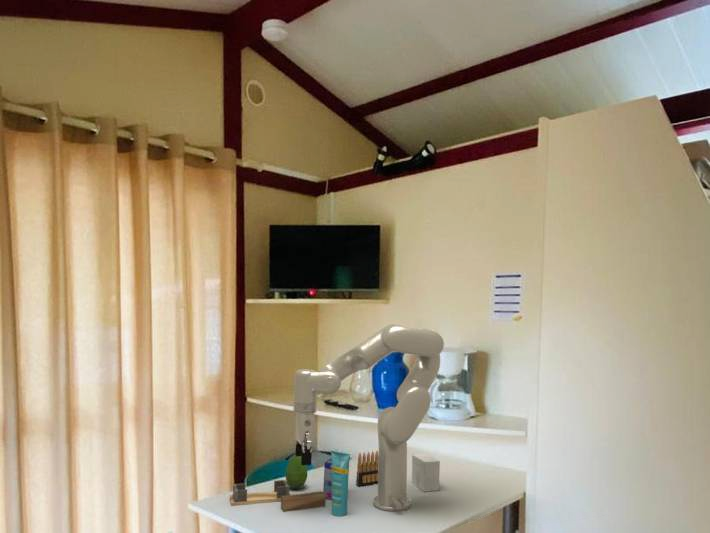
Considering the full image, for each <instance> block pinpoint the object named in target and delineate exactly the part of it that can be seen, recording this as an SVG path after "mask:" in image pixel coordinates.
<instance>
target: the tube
mask: <svg viewBox="0 0 710 533" xmlns="http://www.w3.org/2000/svg"><path fill="white" fill-rule="evenodd" d="M330 455H331V458H330V459H331V461H332V499H331V514H332V515H333V516H337V517H344V516H347V514H348V495H349V494H348V492H349V477H350V475H349V473H350V461H351V454H350V453H348V452H347V453H345V452H342V453H341V451H340V452H338V451H335V450H330Z"/></svg>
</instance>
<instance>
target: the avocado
mask: <svg viewBox="0 0 710 533" xmlns="http://www.w3.org/2000/svg"><path fill="white" fill-rule="evenodd" d="M307 479H308V467H307V465H301V456H298V457H296V455H295V454H294V455H292V457H291V458H290V460H289V461H288V464H287V466H286V469H285V480H286V481H287V483H288V485H289V489H294V490H299V489H301V488H302V487H304V485H305V484H306V482H307Z"/></svg>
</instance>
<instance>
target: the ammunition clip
mask: <svg viewBox="0 0 710 533" xmlns="http://www.w3.org/2000/svg"><path fill="white" fill-rule="evenodd" d="M378 454H379V450H376V451H375V453H374V451H373V450H371V455H370V451H368V452H367V454H366V452H365V451H364V452H363V454H361V452H359V454H358V456H357V471H356V481H355V486H356V487H357V488H362V487H368V486H374V484H376V485H378ZM366 455H367V456H366Z"/></svg>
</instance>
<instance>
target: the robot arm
mask: <svg viewBox="0 0 710 533" xmlns="http://www.w3.org/2000/svg"><path fill="white" fill-rule="evenodd" d="M444 347H445V342H444V338H443V336H441V334H440V333H439V332H437V331H435V330H432V329H426V328H424V329H423V328H422V329H419V328H413V327H407V326H402V325H400V324H396V323H395V324H388V325H386V326H384V327H382V328H381V329H380V330H378V331H376V332H375V333H374V334H372V335H371V336H370V337H368V338H367V339H365V340H364V341H362V342H360V343H359V344H357V345H356V346H354V347H353V348H350V349H349V350H348V351H347V352H345V353H343V354H342V355H340V356H338V357H336V358H335V359H334V360H332V361H331V362H329V363H328V364H326V365H324V367H322V368H321V369H320V370H319V371H316V370H315V369H311V368H310V369H309V368H304V369H303V368H300V369H298V370H296V371H295V373H294V386H293V387H294V390H293V392H294V393H293V413H295V414H296V415H295V426H294V428H295V432H294V438H295V440H296V441H295V451H294V452H295V454H294V455H296V457H298V456H301V465H306V466H311V465H312V451H313V450H312V448H313V446H312V445H315V443H316V423H315V422H316V420H315V414H316V413H317V398H318V393H320V394H327V395H329V394H335V393H337V392H338V391H339V390H340V388H341V386H342V381H343V380H345V379H346V378H348V377H349V376H351V375H353V374H355V373H357V372H359V371H363V370H367V369H370V368H372V367H374V366H375V365H376V364H378V363H379V362H380V361H382V360H384V359H385V358H387V357H388V356H389V355H391V354H392V353H394V352H397V353H402V354H405V355H414V356H415V360H414V363H413V364H412V367H411V368H410V370H409V371H408V374H407V375H406V377H405V378H404V380H403V382H402V383H401V384H400V386H399V387H398V389H397V391H396V399H397V401H398V402H397V404H396V406H389V407H386V408H384V409H383V410H382V411H381V412H380V413H379V415H378V417H377V418H378V419H377V435H378V436H377V437H378V439H377V440H378V484H377V495H376V496H375V497H373V499H372V505H373V506H374V507H375V508H377V509H381V510H383V511H388V512H389V511H390V512H399V511H405V510H407V509H409V508H410V507H411V506H412V500H411V499H410V498H409V497H408V496H407V480H408V478H407V475H408V474H407V472H408V471H407V470H408V469H407V468H408V467H407V466H408V460H407V459H408V444H407V442H408V441H409V440H410V439H411V438H412V436H413V435H414V433H415V432H416V430H417V429H418V427H419V425H420V424H421V423H422V422H423V419H424V417H425V416H426V415H427V413H428V411H429V409H430V405H431V400H432V398H431V394H430V392H429V390H430V388H431V386H432V384H433V383H434V381H435V379H436V378H437V375H438V374H439V370H440V367H441V353H442V352H443V350H444Z"/></svg>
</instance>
